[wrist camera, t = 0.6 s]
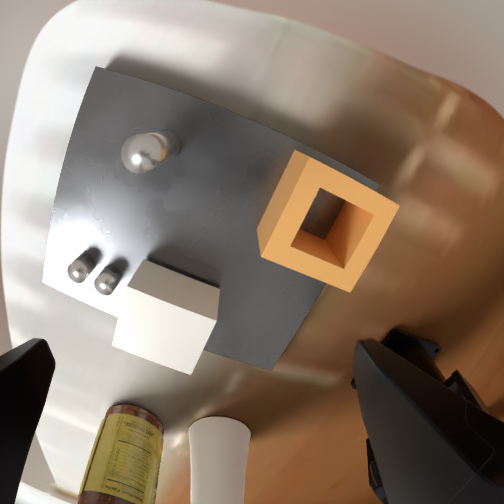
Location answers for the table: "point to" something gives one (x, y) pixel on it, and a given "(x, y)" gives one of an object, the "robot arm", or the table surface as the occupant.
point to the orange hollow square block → (341, 234)
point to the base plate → (181, 210)
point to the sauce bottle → (124, 458)
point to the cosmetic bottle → (218, 460)
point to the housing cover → (166, 317)
